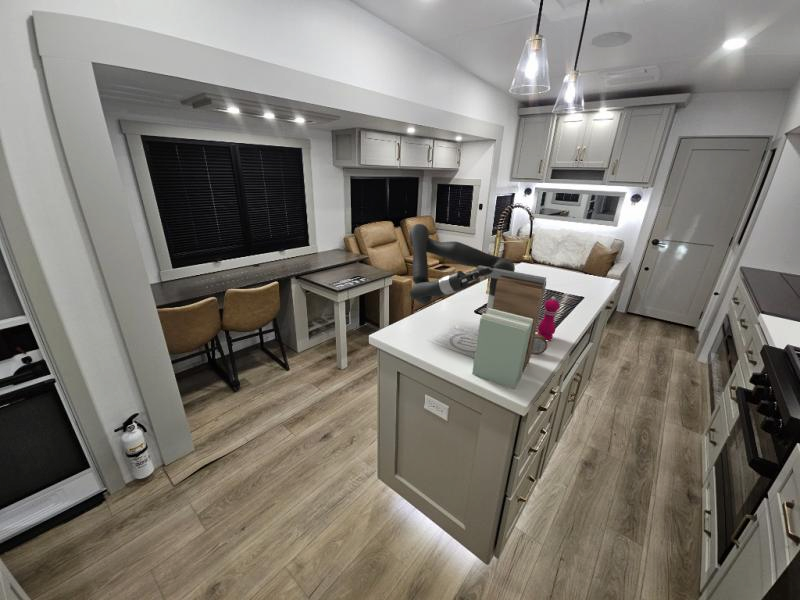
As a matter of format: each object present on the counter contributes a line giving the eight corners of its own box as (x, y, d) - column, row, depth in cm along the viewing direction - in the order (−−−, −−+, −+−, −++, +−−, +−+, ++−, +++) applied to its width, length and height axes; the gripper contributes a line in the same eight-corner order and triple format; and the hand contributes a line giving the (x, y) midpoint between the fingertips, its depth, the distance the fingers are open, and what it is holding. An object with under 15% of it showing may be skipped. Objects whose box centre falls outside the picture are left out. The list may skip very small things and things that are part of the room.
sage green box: (480, 363, 121) (489, 307, 113) (521, 377, 114) (533, 318, 105) (472, 374, 114) (480, 314, 106) (514, 389, 106) (527, 327, 98)
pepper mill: (555, 337, 145) (565, 296, 138) (550, 343, 140) (560, 300, 132) (539, 332, 149) (548, 292, 142) (533, 337, 144) (542, 296, 137)
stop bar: (478, 272, 122) (479, 265, 121) (544, 285, 110) (546, 277, 109) (475, 274, 120) (476, 266, 119) (543, 287, 108) (544, 279, 107)
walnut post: (491, 349, 131) (504, 272, 120) (529, 361, 124) (547, 280, 112) (484, 358, 124) (497, 277, 112) (523, 372, 117) (542, 286, 105)
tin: (544, 353, 131) (548, 335, 128) (545, 357, 128) (550, 338, 125) (506, 346, 134) (509, 329, 132) (506, 350, 132) (510, 332, 129)
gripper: (441, 278, 122) (482, 263, 111) (456, 270, 133) (494, 256, 123) (449, 296, 122) (489, 282, 112) (463, 287, 134) (501, 274, 123)
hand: (492, 269), depth 117 cm, fingers open, 4 cm apart
